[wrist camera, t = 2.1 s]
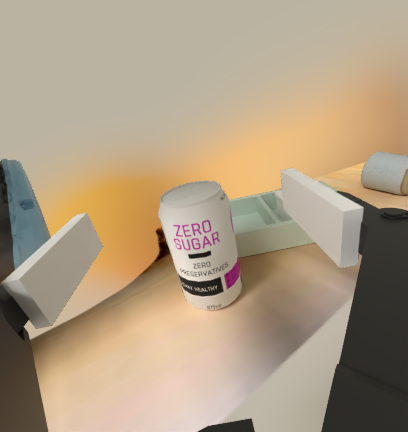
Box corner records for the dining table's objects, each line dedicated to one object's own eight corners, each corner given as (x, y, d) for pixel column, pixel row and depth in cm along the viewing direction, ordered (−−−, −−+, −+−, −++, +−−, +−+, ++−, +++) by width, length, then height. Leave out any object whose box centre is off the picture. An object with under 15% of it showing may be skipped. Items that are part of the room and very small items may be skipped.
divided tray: (201, 265, 37) (195, 242, 35) (198, 225, 50) (194, 207, 48) (364, 232, 36) (368, 208, 34) (320, 200, 49) (320, 181, 47)
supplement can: (222, 263, 37) (205, 175, 30) (255, 294, 30) (241, 188, 23) (177, 286, 34) (146, 194, 27) (201, 325, 27) (168, 216, 21)
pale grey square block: (290, 232, 39) (289, 207, 37) (275, 213, 46) (274, 191, 44) (334, 223, 39) (335, 198, 37) (312, 206, 46) (312, 183, 44)
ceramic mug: (401, 201, 42) (410, 161, 39) (358, 191, 49) (362, 156, 46) (433, 185, 46) (443, 146, 43) (388, 178, 53) (394, 144, 49)
